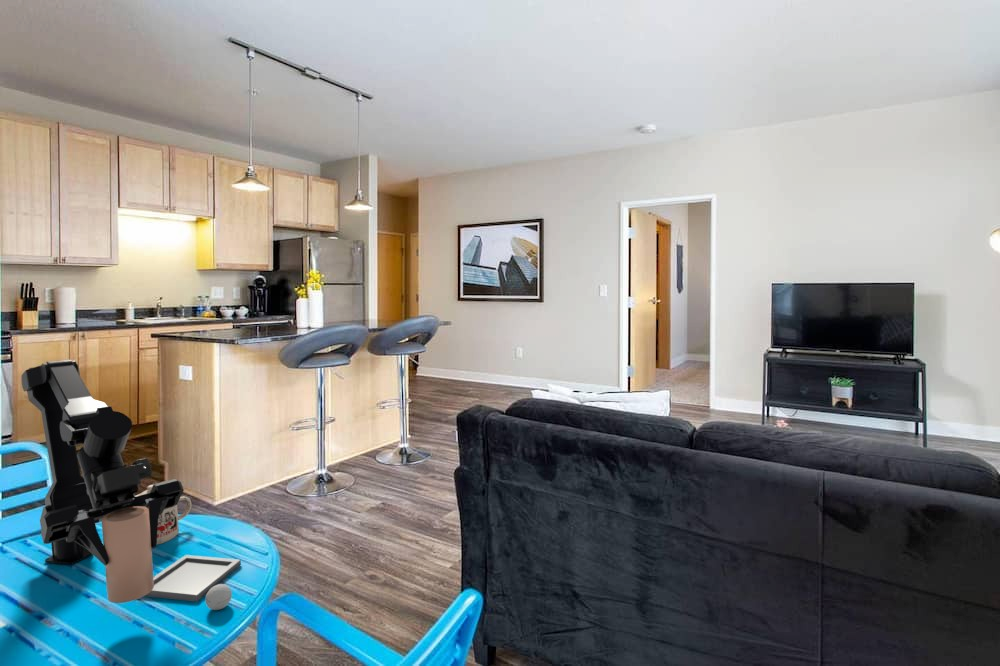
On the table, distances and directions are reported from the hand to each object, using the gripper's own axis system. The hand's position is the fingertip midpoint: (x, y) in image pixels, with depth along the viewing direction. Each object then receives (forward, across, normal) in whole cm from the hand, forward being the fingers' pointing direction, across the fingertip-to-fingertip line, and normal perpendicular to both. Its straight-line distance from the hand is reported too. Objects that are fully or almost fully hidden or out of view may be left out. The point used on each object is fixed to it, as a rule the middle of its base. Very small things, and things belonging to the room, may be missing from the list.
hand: (131, 555), depth 85 cm
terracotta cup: (+4, 0, +6) cm, 7 cm away
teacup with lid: (-14, +15, +31) cm, 37 cm away
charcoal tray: (+3, +11, +14) cm, 18 cm away
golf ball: (+12, +11, +5) cm, 17 cm away
